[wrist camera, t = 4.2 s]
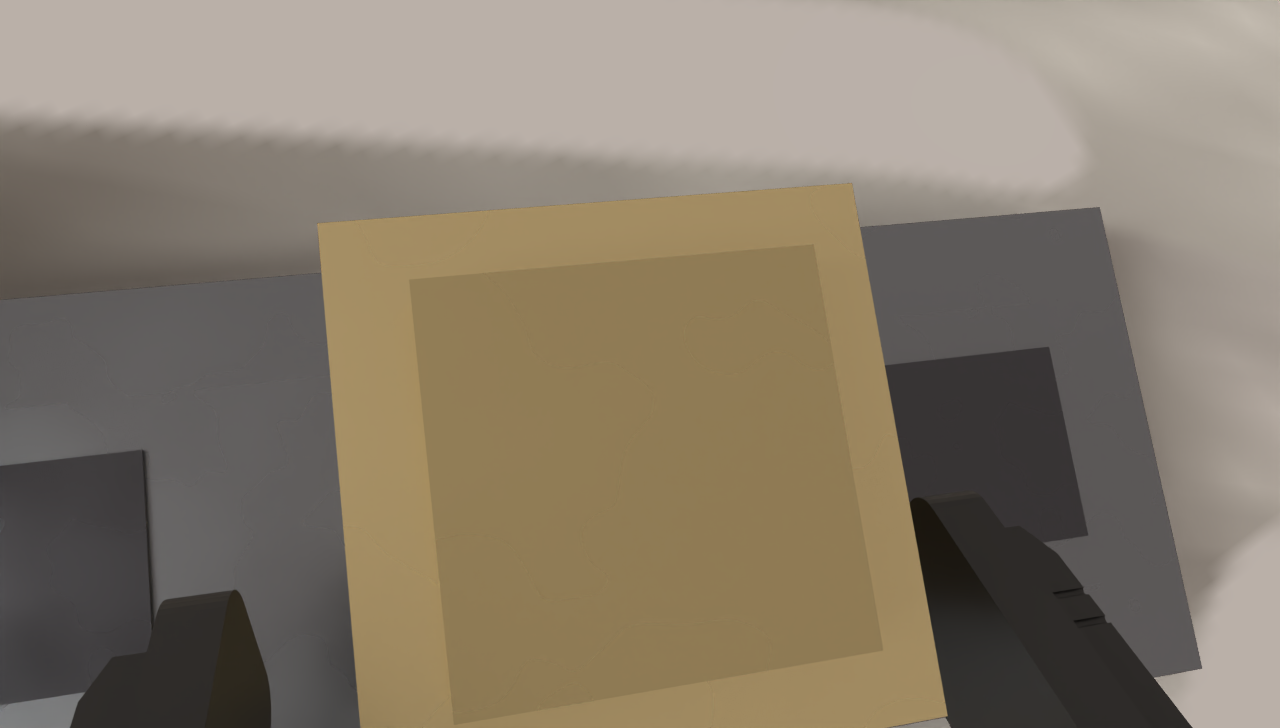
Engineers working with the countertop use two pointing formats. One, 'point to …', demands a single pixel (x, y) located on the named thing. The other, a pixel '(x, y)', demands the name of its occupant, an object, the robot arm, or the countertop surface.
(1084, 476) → the grey slotted plate
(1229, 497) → the countertop surface
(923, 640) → the wooden square peg
